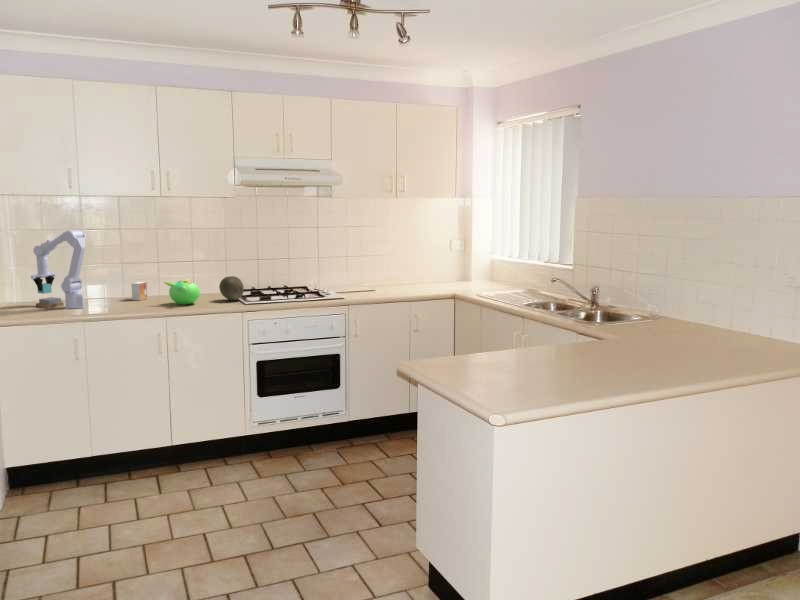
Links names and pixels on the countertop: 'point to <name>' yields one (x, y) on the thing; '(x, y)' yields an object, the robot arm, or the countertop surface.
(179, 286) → the toy bird
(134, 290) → the small box
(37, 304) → the walnut base slab
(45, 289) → the teal block
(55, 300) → the grey top slab
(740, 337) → the countertop surface
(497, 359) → the countertop surface
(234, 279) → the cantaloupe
